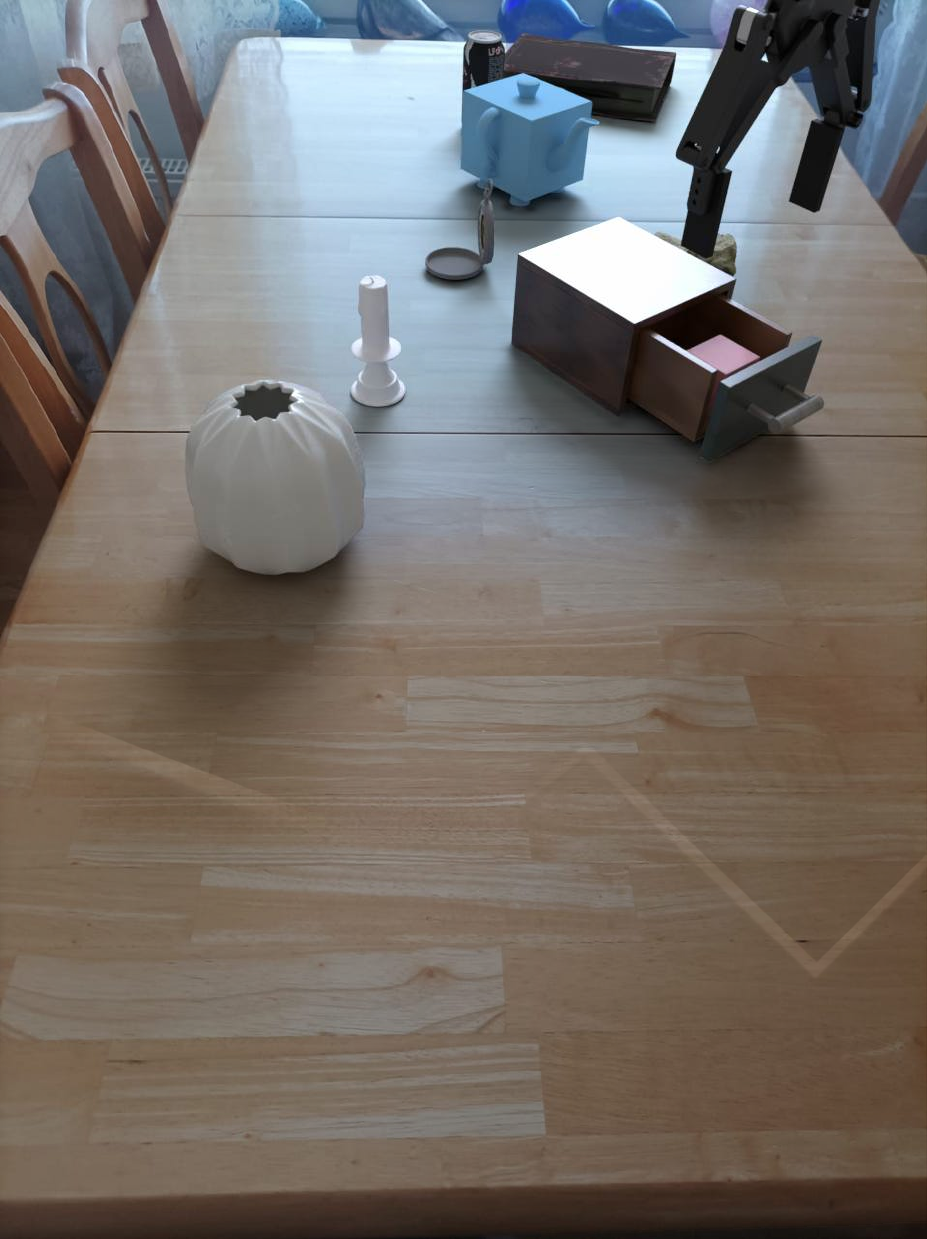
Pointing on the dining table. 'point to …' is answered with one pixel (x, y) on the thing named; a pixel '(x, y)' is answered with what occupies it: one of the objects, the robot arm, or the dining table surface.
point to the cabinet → (603, 302)
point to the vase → (274, 478)
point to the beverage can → (482, 59)
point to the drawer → (742, 400)
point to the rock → (721, 256)
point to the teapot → (524, 136)
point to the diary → (597, 73)
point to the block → (723, 359)
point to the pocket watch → (465, 261)
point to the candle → (376, 347)
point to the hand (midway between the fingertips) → (752, 228)
